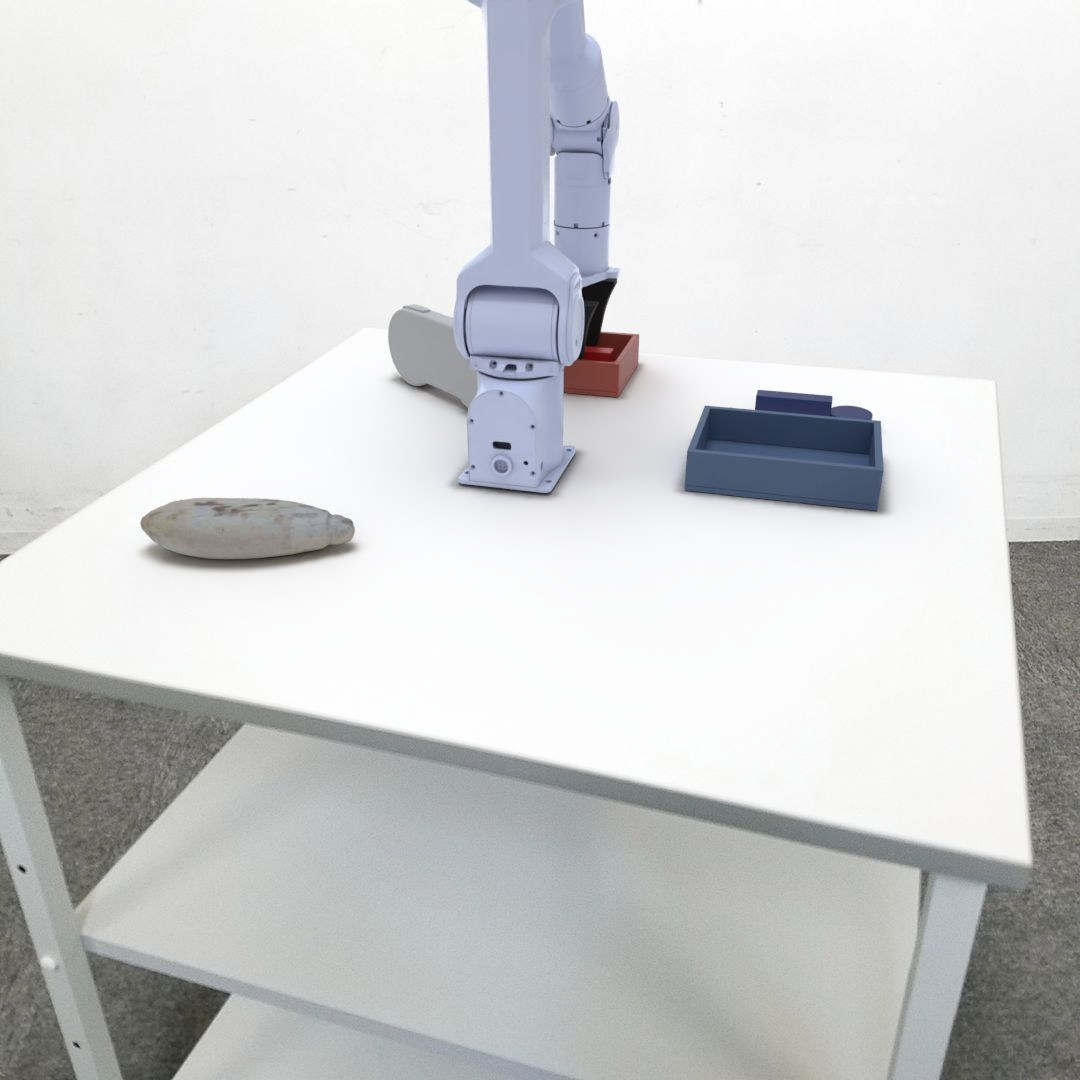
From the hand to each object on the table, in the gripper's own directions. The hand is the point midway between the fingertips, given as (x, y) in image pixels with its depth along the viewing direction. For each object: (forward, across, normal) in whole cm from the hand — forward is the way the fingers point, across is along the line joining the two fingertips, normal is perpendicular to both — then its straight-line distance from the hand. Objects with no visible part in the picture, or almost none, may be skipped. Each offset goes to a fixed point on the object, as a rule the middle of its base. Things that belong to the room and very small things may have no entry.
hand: (579, 355), depth 110 cm
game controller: (+3, -10, +11) cm, 15 cm away
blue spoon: (+2, -8, -25) cm, 26 cm away
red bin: (+2, 0, +2) cm, 3 cm away
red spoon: (+2, 0, +2) cm, 3 cm away
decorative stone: (+3, -45, +14) cm, 47 cm away
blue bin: (+2, -21, -23) cm, 31 cm away
